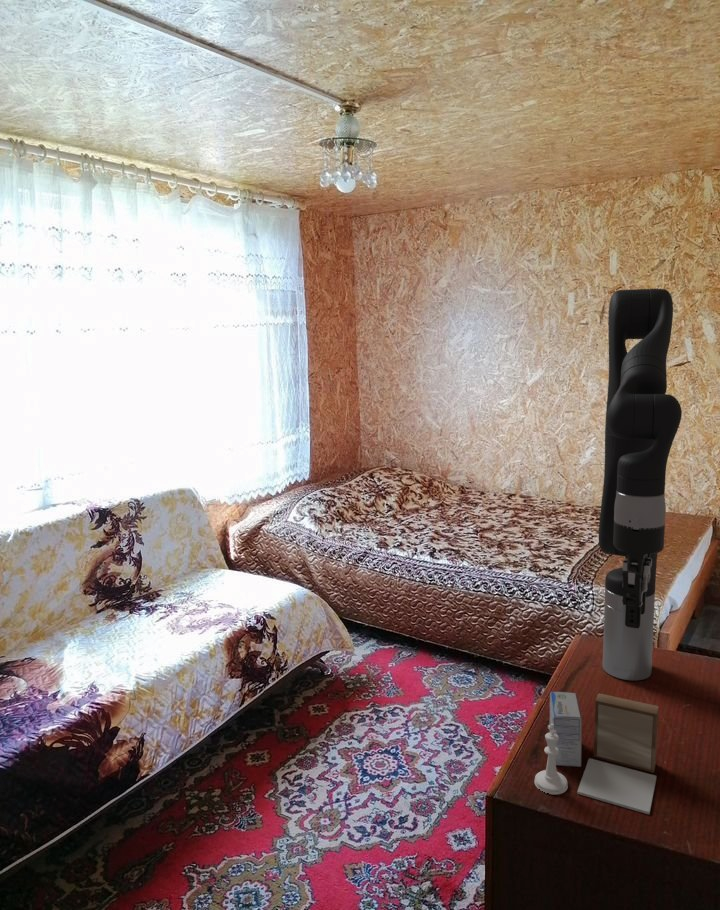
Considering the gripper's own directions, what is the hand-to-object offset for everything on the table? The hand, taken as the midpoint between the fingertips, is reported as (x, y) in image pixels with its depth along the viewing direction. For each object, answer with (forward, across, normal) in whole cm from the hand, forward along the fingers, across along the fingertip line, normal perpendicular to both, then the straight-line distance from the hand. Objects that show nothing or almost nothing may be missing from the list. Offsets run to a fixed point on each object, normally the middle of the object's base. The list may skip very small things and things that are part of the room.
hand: (635, 619), depth 111 cm
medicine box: (+22, +8, -9) cm, 25 cm away
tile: (+21, +6, 0) cm, 22 cm away
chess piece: (+22, +18, -9) cm, 29 cm away
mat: (+21, +14, 0) cm, 25 cm away
